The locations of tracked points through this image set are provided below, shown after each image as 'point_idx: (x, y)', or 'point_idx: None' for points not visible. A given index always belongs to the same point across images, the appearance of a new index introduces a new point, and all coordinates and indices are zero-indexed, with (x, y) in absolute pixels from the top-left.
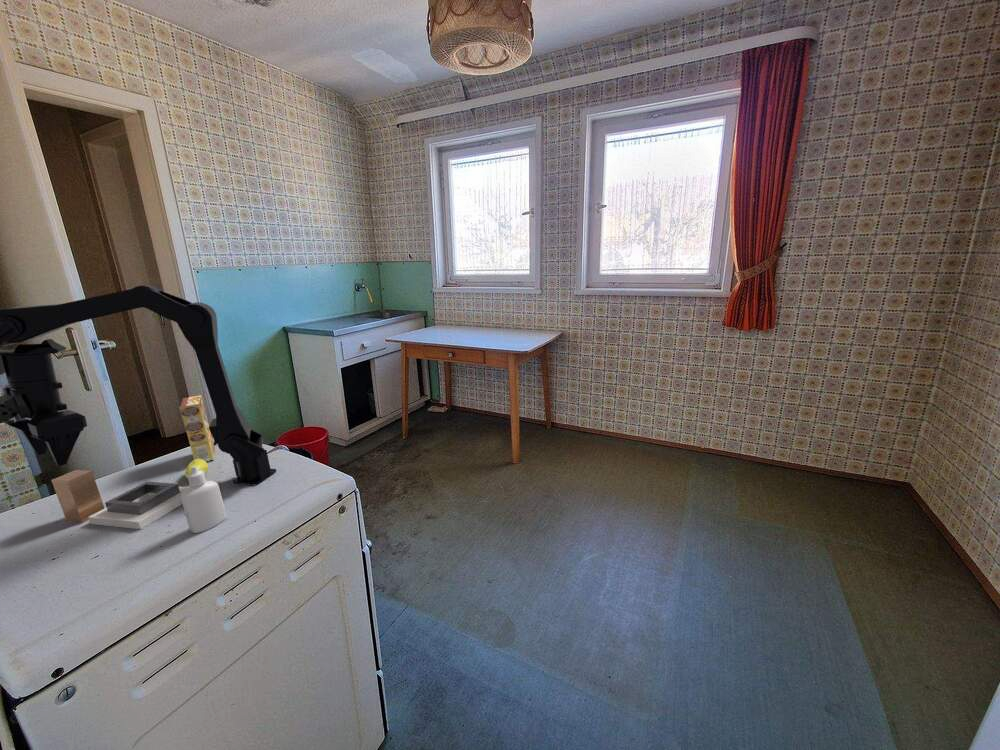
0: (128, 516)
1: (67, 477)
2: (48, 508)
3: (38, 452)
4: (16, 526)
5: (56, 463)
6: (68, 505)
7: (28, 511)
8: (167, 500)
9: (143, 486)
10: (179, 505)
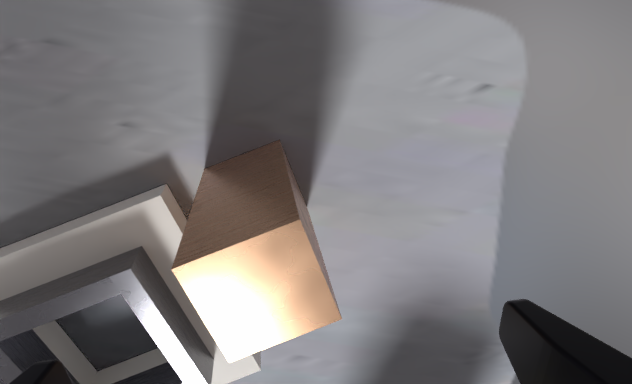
0: (16, 278)
1: (250, 277)
2: (473, 126)
3: (516, 325)
4: (423, 23)
5: (32, 376)
6: (238, 180)
7: (522, 79)
8: None
9: (178, 372)
10: None
